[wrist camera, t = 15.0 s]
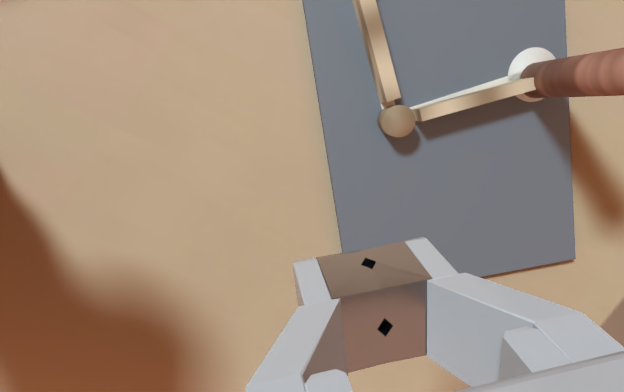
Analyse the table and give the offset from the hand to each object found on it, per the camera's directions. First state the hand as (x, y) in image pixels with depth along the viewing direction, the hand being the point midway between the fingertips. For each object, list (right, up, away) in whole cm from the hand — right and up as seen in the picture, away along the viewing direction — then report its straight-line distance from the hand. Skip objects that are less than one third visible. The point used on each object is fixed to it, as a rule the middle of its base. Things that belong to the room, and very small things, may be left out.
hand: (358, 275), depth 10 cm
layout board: (+11, +8, +30) cm, 33 cm away
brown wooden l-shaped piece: (+14, +11, +29) cm, 33 cm away
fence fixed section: (+4, +14, +27) cm, 31 cm away
